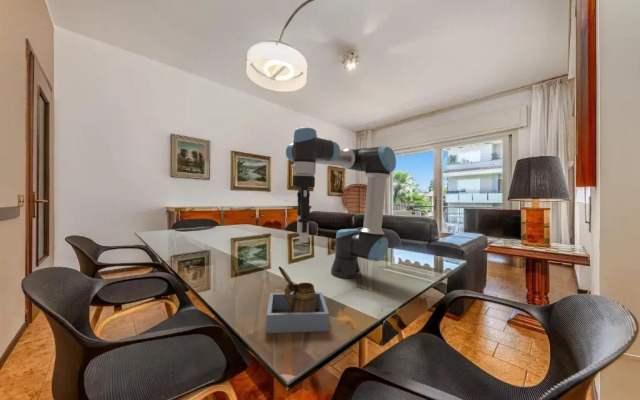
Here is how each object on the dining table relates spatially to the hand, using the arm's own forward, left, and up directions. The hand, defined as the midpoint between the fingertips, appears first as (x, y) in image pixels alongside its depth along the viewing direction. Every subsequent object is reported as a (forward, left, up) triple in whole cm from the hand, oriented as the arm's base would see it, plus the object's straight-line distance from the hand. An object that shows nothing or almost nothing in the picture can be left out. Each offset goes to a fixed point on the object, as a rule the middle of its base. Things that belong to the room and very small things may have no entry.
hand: (302, 237), depth 85 cm
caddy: (+1, +3, -27) cm, 27 cm away
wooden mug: (+1, +3, -27) cm, 27 cm away
